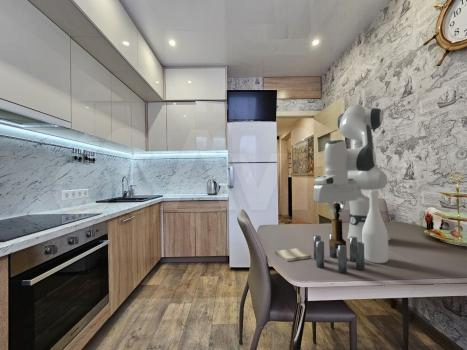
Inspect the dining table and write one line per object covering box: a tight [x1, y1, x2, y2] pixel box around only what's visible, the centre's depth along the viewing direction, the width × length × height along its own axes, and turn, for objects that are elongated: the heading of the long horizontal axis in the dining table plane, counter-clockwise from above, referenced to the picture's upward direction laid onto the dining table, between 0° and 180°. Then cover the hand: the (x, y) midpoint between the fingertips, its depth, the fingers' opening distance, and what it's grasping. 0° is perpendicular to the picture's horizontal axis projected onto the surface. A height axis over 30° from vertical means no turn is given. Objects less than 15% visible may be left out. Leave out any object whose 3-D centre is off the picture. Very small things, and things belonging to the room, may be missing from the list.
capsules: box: [313, 233, 366, 275], centre depth 97 cm, size 20×18×10 cm
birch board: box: [274, 247, 312, 262], centre depth 108 cm, size 12×11×1 cm
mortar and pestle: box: [328, 202, 347, 250], centre depth 98 cm, size 7×6×18 cm
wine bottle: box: [361, 189, 389, 264], centre depth 101 cm, size 10×10×30 cm
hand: (336, 212), depth 98 cm, fingers closed on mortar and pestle, 2 cm apart
